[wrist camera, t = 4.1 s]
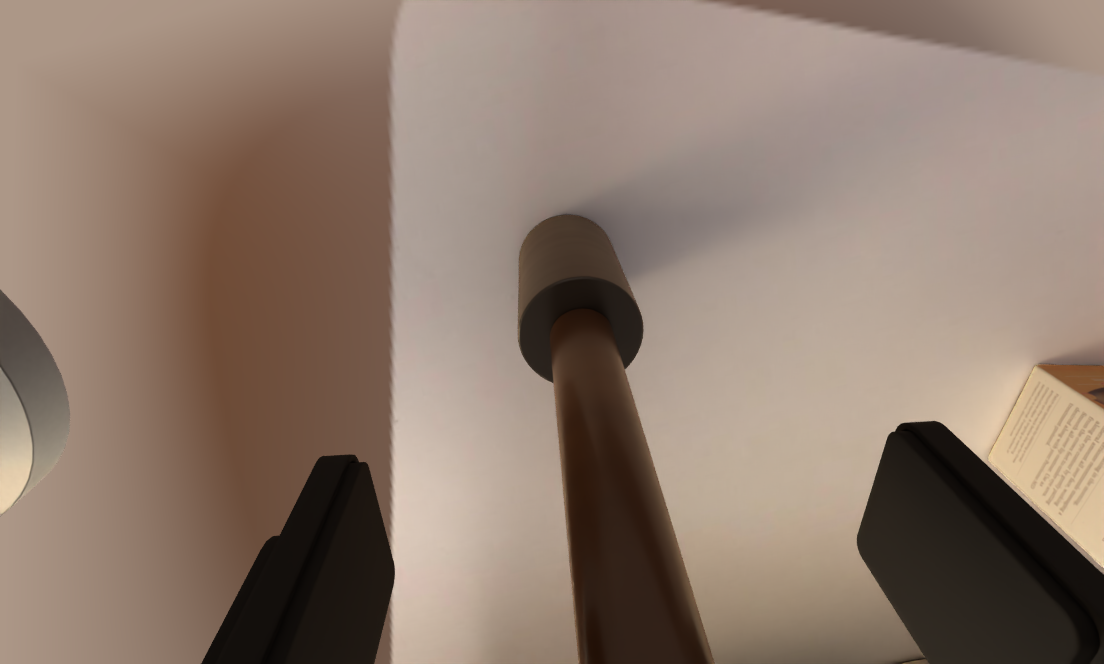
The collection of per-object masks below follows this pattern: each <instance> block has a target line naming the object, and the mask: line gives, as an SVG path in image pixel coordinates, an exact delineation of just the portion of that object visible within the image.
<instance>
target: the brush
mask: <svg viewBox="0 0 1104 664" xmlns="http://www.w3.org/2000/svg"><path fill="white" fill-rule="evenodd" d="M642 339H643V319H642V315H641V312H640V309H639V307H638V305H637V302H636V300H635V298H634V295H633V293H632V291H631V288H630V286H629V284H628V281H627V279H626V277H625V274H624V272H623V270H622V267H621V265H620V263H619V260H618V258H617V256H616V253H615V251H614V249H613V246H612V244H611V242H610V240H609V238H608V236H607V235H606V233H605V232H604V231H603V230H602V229H601V227H599V226H598V225H597V224H596V223H594V222H593V221H591V220H589V219H587V218H584V217H581V216H576V215H559V216H555V217H551V218H549V219H546V220H545V221H543V222H541V223H539V224H538V225H537V226H535V227H534V228H533V229H532V230H531V231H530V233H529V234H528V235H527V237H526V238H525V240H524V242H523V244H522V246H521V250H520V255H519V290H518V342H519V347H520V350H521V353H522V355H523V357H524V359H525V361H526V362H527V363H528V365H529V366H530V367H531V368H532V369H533V370H534V371H535V372H536V373H537V374H538V375H540V376H541V377H543V378H544V379H546V380H548V381H550V382H552V383H554V394H555V405H556V416H557V427H558V439H559V450H560V461H561V472H562V483H563V495H564V506H565V517H566V528H567V539H568V551H569V562H570V573H571V584H572V595H573V607H574V618H575V629H576V640H577V651H578V663H579V664H715V662H714V659H713V656H712V653H711V649H710V646H709V643H708V640H707V636H706V633H705V630H704V626H703V623H702V620H701V617H700V613H699V610H698V607H697V604H696V600H695V597H694V594H693V591H692V587H691V584H690V581H689V578H688V574H687V571H686V568H685V565H684V561H683V558H682V555H681V551H680V548H679V545H678V542H677V538H676V535H675V532H674V529H673V525H672V522H671V519H670V516H669V512H668V509H667V506H666V503H665V499H664V496H663V493H662V490H661V486H660V483H659V480H658V476H657V473H656V470H655V467H654V463H653V460H652V457H651V454H650V450H649V447H648V444H647V441H646V437H645V434H644V431H643V428H642V424H641V421H640V418H639V415H638V411H637V408H636V405H635V401H634V398H633V395H632V392H631V388H630V385H629V382H628V379H627V375H626V372H625V369H626V368H627V367H628V366H629V365H630V363H631V362H632V361H633V359H634V358H635V356H636V354H637V353H638V351H639V348H640V346H641V342H642Z"/></svg>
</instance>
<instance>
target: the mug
mask: <svg viewBox="0 0 1104 664" xmlns="http://www.w3.org/2000/svg"><path fill="white" fill-rule="evenodd" d="M903 664H929V663H928V661H927V660H926V659H924V660H917V661H910V662H906V663H903Z"/></svg>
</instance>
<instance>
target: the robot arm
mask: <svg viewBox="0 0 1104 664" xmlns="http://www.w3.org/2000/svg"><path fill="white" fill-rule="evenodd" d="M857 546H858V550H859V553H860V555H861V557H862V559H863V560H864V562H865V564H866V565H867V567H868V568H869V570H870V571H871V573H872V575H873V576H874V578H875V579H876V581H877V582H878V584H879V586H880V587H881V589H882V590H883V592H884V593H885V595H886V597H887V598H888V600H889V601H890V603H891V604H892V606H893V608H894V609H895V611H896V612H897V614H898V616H899V617H900V619H901V620H902V622H903V623H904V625H905V627H906V628H907V630H908V631H909V633H910V634H911V636H912V638H913V639H914V641H915V642H916V644H917V645H918V647H919V649H920V650H921V652H922V653H923V655H924V656H925V658H926V660H927V661H928V663H929V664H1104V575H1103V574H1102V573H1101V572H1100V571H1099V570H1098V569H1097V568H1096V567H1095V566H1094V565H1093V564H1091V563H1090V562H1089V561H1088V560H1087V559H1086V558H1085V557H1084V556H1083V555H1082V554H1081V553H1080V552H1079V551H1078V550H1077V549H1075V548H1074V547H1073V546H1072V545H1071V544H1070V543H1069V542H1068V541H1067V540H1066V539H1065V538H1064V537H1063V536H1062V535H1061V534H1060V533H1058V532H1057V531H1056V530H1055V529H1054V528H1053V527H1052V526H1051V525H1050V524H1049V523H1048V522H1047V521H1046V520H1045V519H1044V518H1043V517H1041V516H1040V515H1039V514H1038V513H1037V512H1036V511H1035V510H1034V509H1033V508H1032V507H1031V506H1030V505H1029V504H1028V503H1027V502H1026V501H1024V500H1023V499H1022V498H1021V497H1020V496H1019V495H1018V494H1017V493H1016V492H1015V491H1014V490H1013V489H1012V488H1011V487H1010V486H1009V485H1007V484H1006V483H1005V482H1004V481H1003V480H1002V479H1001V478H1000V477H999V476H998V475H997V474H996V473H995V472H994V471H993V470H992V469H990V468H989V467H988V466H987V465H986V464H985V463H984V462H983V461H982V460H981V459H980V458H979V457H978V456H977V455H976V454H974V453H973V452H972V451H971V450H970V449H969V448H968V447H967V446H966V445H965V444H964V443H963V442H962V441H961V440H960V439H959V438H957V437H956V436H955V435H954V434H953V433H952V432H951V431H950V430H949V429H948V428H947V427H946V426H944V425H943V424H942V423H940V422H936V421H927V422H910V423H902V424H900V425H899V426H898V427H897V429H896V431H895V432H891V433H890V434H889V436H888V438H887V441H886V444H885V447H884V450H883V454H882V457H881V460H880V463H879V467H878V470H877V473H876V476H875V480H874V483H873V486H872V489H871V493H870V496H869V499H868V502H867V506H866V509H865V512H864V515H863V519H862V522H861V525H860V528H859V532H858V535H857ZM394 578H395V567H394V561H393V558H392V554H391V550H390V546H389V542H388V538H387V535H386V531H385V527H384V523H383V519H382V516H381V512H380V508H379V504H378V500H377V496H376V493H375V489H374V485H373V481H372V477H371V474H370V470H369V467H368V464H367V463H366V462H359V461H358V459H357V457H356V456H355V455H334V456H322V457H320V458H319V459H318V461H317V462H316V464H315V466H314V468H313V470H312V472H311V474H310V476H309V478H308V480H307V482H306V484H305V486H304V488H303V490H302V492H301V494H300V496H299V498H298V500H297V502H296V504H295V506H294V508H293V510H292V512H291V514H290V516H289V518H288V520H287V522H286V524H285V526H284V528H283V530H282V532H281V534H280V536H273V537H271V538H270V539H269V540H267V541H266V543H265V544H264V546H263V547H262V549H261V550H260V552H259V554H258V556H257V558H256V560H255V562H254V564H253V566H252V568H251V569H250V572H249V573H248V575H247V577H246V579H245V581H244V583H243V585H242V587H241V589H240V591H239V592H238V594H237V596H236V598H235V600H234V602H233V604H232V606H231V608H230V610H229V612H228V614H227V615H226V617H225V619H224V621H223V623H222V625H221V627H220V629H219V631H218V633H217V635H216V636H215V638H214V640H213V642H212V644H211V646H210V648H209V650H208V652H207V654H206V656H205V658H204V659H203V661H202V663H201V664H374V662H375V658H376V654H377V650H378V646H379V642H380V638H381V633H382V630H383V626H384V622H385V618H386V614H387V609H388V605H389V601H390V597H391V593H392V589H393V585H394Z"/></svg>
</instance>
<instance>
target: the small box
mask: <svg viewBox="0 0 1104 664" xmlns="http://www.w3.org/2000/svg"><path fill="white" fill-rule="evenodd" d="M988 460H989V462H990V463H991V464H992V465H993V466H995V467H996V468H997V469H998V470H999V471H1000V472H1001V473H1002V474H1003V475H1004V476H1005V477H1006V478H1007V479H1009V480H1010V481H1011V482H1012V483H1013V484H1014V485H1015V486H1016V487H1017V488H1018V489H1019V490H1020V491H1021V492H1023V493H1024V494H1025V495H1026V496H1027V497H1028V498H1029V499H1030V500H1031V501H1032V502H1033V503H1034V504H1035V505H1036V506H1037V507H1039V508H1040V509H1041V510H1042V511H1043V512H1044V513H1045V514H1046V515H1047V516H1048V517H1049V518H1050V519H1051V520H1053V521H1054V522H1055V523H1056V524H1057V525H1058V526H1059V527H1060V528H1061V529H1062V530H1063V531H1064V532H1065V533H1066V534H1067V535H1069V536H1070V537H1071V538H1072V539H1073V540H1074V541H1075V542H1076V543H1077V544H1078V545H1079V546H1080V547H1082V548H1083V549H1084V550H1085V551H1086V552H1087V553H1088V554H1089V555H1090V556H1091V557H1092V558H1093V559H1094V560H1095V561H1096V562H1097V563H1098V564H1100V565H1101V566H1102V567H1103V568H1104V366H1097V365H1054V364H1038V365H1036V366H1035V367H1034V369H1033V371H1032V373H1031V375H1030V377H1029V379H1028V381H1027V383H1026V385H1025V387H1024V389H1023V391H1022V393H1021V395H1020V397H1019V399H1018V401H1017V403H1016V404H1015V406H1014V408H1013V410H1012V412H1011V414H1010V416H1009V418H1008V420H1007V422H1006V423H1005V425H1004V427H1003V429H1002V431H1001V433H1000V435H999V437H998V439H997V441H996V443H995V445H994V446H993V448H992V450H991V452H990V454H989V457H988Z"/></svg>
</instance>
